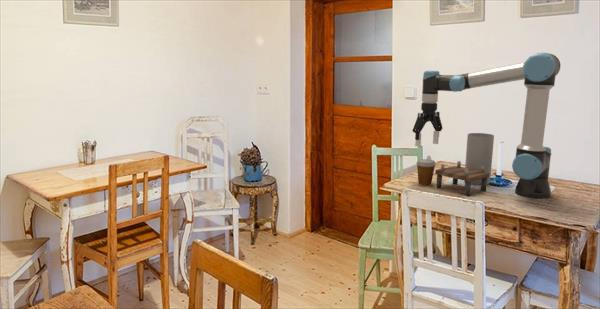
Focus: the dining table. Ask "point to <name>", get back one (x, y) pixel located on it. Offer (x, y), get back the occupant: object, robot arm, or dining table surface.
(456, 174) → the peg shelf stand
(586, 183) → the dining table surface
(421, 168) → the disposable coffee cup
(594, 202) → the dining table surface
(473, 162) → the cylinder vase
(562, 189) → the dining table surface
